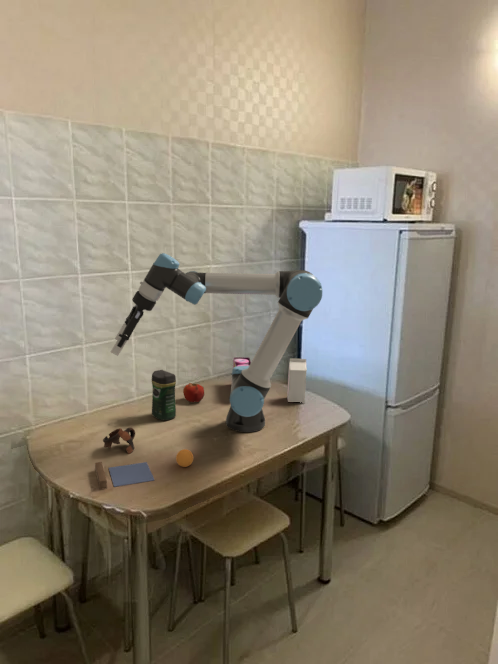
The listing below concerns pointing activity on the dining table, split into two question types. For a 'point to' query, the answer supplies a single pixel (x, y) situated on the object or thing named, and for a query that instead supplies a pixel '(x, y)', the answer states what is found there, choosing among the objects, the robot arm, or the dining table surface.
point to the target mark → (130, 474)
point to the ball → (184, 458)
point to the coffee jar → (163, 395)
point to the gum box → (241, 361)
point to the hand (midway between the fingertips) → (116, 346)
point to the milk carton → (296, 380)
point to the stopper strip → (101, 475)
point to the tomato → (193, 392)
